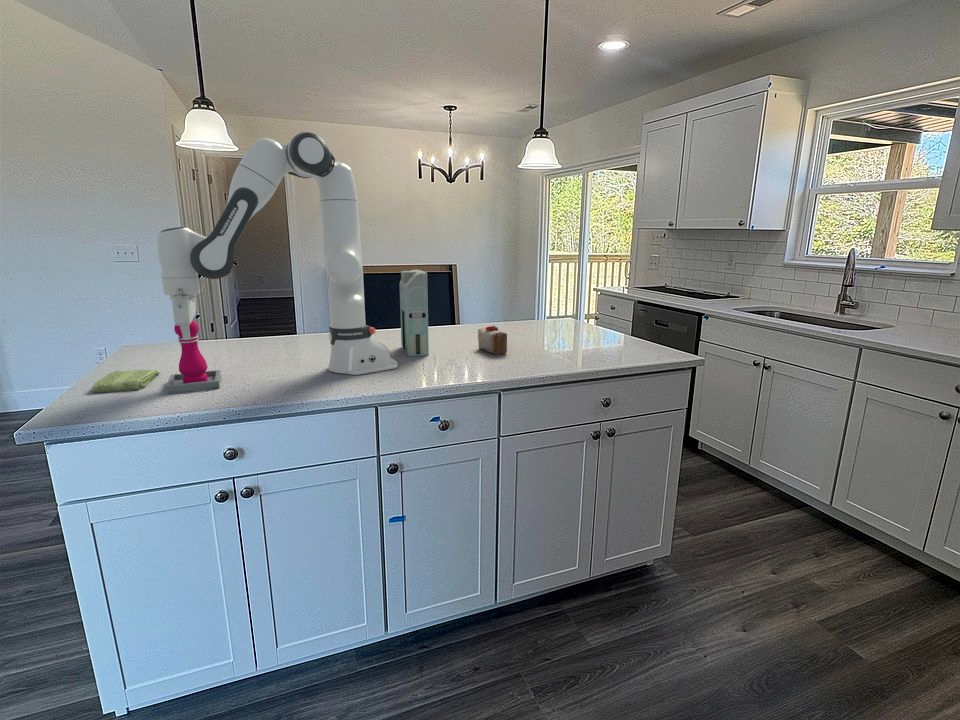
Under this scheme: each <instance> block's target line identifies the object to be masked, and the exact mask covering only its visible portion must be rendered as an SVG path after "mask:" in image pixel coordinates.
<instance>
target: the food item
mask: <svg viewBox="0 0 960 720" xmlns="http://www.w3.org/2000/svg"><path fill="white" fill-rule="evenodd" d="M498 327H499V326H495V325H492V326H486V327H481V328H478V330H477V340H478V349H480V350H482V351H485V352H488V353H490V354H492V355H494V356H496V355H497V356H499V355H506V354H507V353H508V333H506V332H503V331H501V330H499V328H498Z"/></svg>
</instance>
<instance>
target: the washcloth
mask: <svg viewBox="0 0 960 720" xmlns="http://www.w3.org/2000/svg"><path fill="white" fill-rule="evenodd" d="M159 374H161V372H160V370H156V369H143V368H142V369H132V370H119V369H118V370H114V371H112V372H111V371H110V372H109V373H107V374H106V375H104V377H102V378H101V379H98V380H97V381H96V382H95V383H94V384H93V385H92V388H91V390H92V391H93V393H97V394H98V393H99V394H100V393H113V392H121V391H123V392H124V391H125V392H126V391H140V389H141V390H142V389H144V388H146V387H147V386H148V385H149V384H150V383H149V382H152V381H153V380H154V379H155V378H156V377H157V376H158V375H159ZM148 383H149V384H148Z"/></svg>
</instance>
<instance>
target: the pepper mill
mask: <svg viewBox="0 0 960 720" xmlns="http://www.w3.org/2000/svg"><path fill="white" fill-rule="evenodd" d="M189 329H190V336H191V338H190V339H189V340H184V339H183V336H182V332H181V329H180V326H177V325H176V324H175V323H174V329H173V330H174V333H175V334H176V335H177V336H178V337H177V340H178V343H179V344H180V346H181V356H180V359H179V363H178V371H179V374H183V375H184V377H183V383H184V384H185V383H195V382H204V381H207V380H208V378H207V374H205V371H208V363H207V361H206V359H205V357H204V356H203V355H202V352H201V351H200V348H199V345H198V342H199V336H198V333H199V331H200V328H199V325H198V323H197V322H196V321H195V320H194V319H193V320H192V322H191V324H190V325H189Z"/></svg>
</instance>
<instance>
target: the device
mask: <svg viewBox="0 0 960 720" xmlns="http://www.w3.org/2000/svg"><path fill="white" fill-rule="evenodd" d="M400 275H401V276H400V281H399V306H400V307H399V308H400V309H399V310H400V311H399V312H400V334H401V335H400V338H401V339H400V340H401V341H400V342H401V347H402V349H403V350H405V353H406V354H407V356H408V357H426V356H429V347H430V346H429V344H430V343H429V305H428V304H429V302H428V301H429V300H428V299H429V297H428V292H429V291H428V272H426V271H424V270H421V269H412V270H411V269H410V270H401V271H400Z"/></svg>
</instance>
